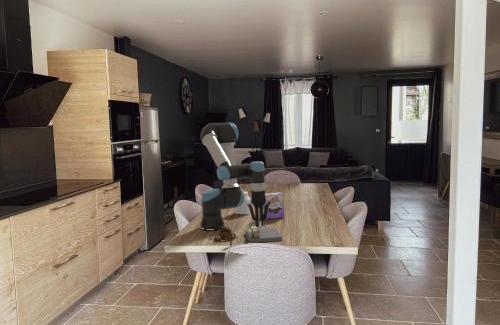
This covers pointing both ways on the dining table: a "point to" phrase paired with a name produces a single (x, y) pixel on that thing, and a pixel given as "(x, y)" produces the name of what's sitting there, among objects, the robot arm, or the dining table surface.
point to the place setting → (226, 235)
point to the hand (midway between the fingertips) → (259, 232)
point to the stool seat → (264, 235)
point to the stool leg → (254, 231)
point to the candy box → (275, 205)
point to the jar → (244, 205)
